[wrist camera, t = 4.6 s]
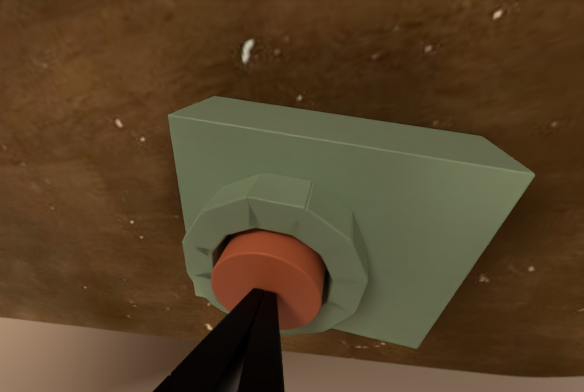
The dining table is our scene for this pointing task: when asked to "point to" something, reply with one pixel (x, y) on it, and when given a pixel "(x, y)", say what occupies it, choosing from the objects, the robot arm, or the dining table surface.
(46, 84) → the dining table surface
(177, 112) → the push button box
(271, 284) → the lid button
